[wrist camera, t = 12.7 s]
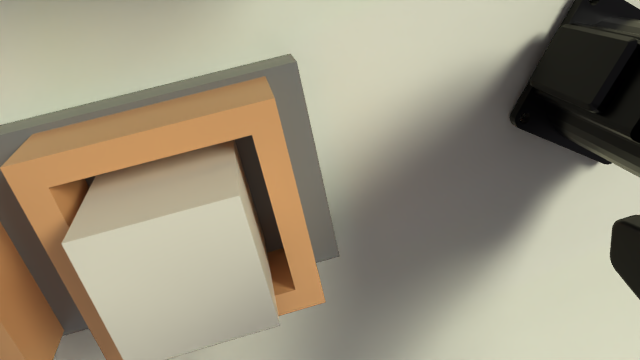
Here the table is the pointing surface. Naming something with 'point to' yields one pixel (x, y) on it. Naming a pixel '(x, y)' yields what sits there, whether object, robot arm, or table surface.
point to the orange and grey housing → (162, 217)
